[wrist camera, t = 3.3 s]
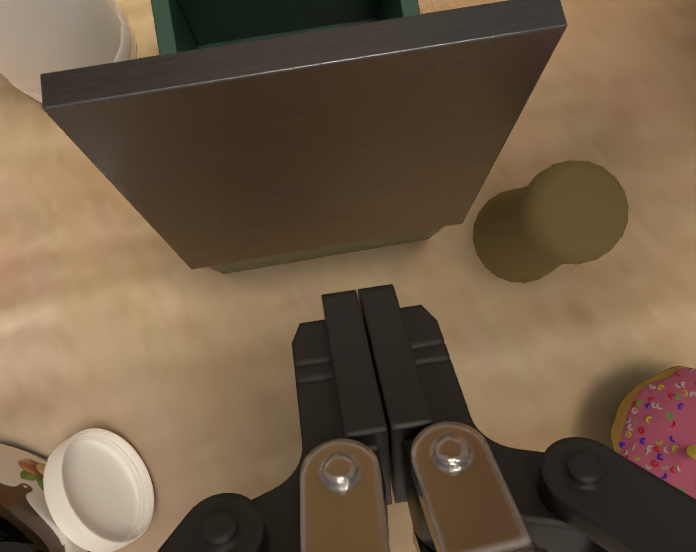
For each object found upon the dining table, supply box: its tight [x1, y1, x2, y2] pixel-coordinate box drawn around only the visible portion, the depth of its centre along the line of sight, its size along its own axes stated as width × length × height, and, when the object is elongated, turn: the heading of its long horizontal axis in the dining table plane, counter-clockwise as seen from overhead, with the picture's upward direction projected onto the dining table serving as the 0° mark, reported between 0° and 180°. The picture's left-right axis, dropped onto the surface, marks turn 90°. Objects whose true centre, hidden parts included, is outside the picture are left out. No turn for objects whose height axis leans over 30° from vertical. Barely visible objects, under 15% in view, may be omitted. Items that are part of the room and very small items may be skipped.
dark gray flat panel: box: [40, 0, 567, 269], centre depth 25 cm, size 16×13×1 cm
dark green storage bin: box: [151, 0, 443, 274], centre depth 38 cm, size 15×13×9 cm
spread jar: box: [0, 428, 154, 552], centre depth 35 cm, size 12×11×12 cm
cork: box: [473, 161, 628, 283], centre depth 37 cm, size 6×6×11 cm
